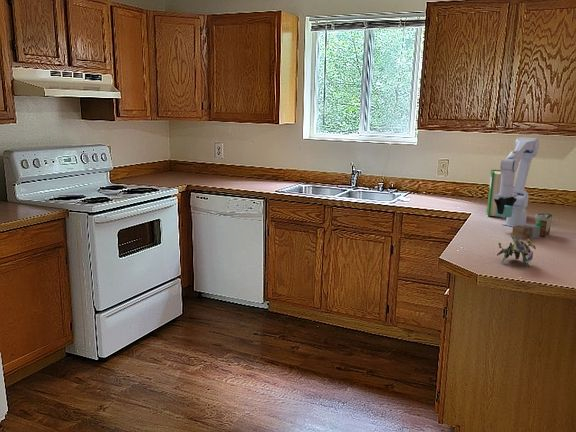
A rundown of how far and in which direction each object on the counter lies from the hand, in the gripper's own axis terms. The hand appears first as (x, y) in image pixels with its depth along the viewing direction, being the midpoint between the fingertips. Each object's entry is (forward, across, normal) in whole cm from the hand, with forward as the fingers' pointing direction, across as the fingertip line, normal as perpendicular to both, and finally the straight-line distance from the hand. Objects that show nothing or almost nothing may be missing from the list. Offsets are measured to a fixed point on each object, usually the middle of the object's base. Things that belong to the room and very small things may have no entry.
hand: (503, 213), depth 242 cm
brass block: (+8, -5, -13) cm, 16 cm away
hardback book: (+9, +32, +28) cm, 43 cm away
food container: (+9, +8, -14) cm, 18 cm away
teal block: (+1, 0, 0) cm, 1 cm away
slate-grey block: (+8, +2, -14) cm, 16 cm away
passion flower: (+9, -45, -38) cm, 60 cm away
